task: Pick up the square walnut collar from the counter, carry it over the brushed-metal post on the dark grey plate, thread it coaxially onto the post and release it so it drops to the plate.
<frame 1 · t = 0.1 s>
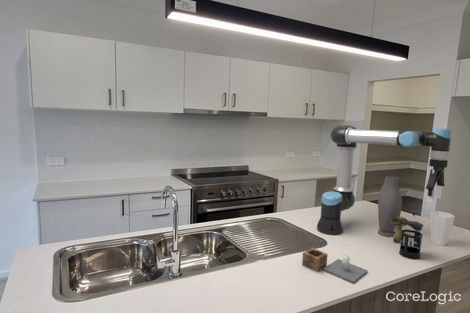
hand: (433, 200, 149), 28 cm above the worktop, fingers open, 13 cm apart
post: (345, 271, 130), on the worktop
mushroom: (397, 242, 164), on the worktop
french press: (409, 255, 149), on the worktop
cup: (438, 243, 165), on the worktop
vase: (386, 233, 177), on the worktop
collar: (314, 265, 135), on the worktop
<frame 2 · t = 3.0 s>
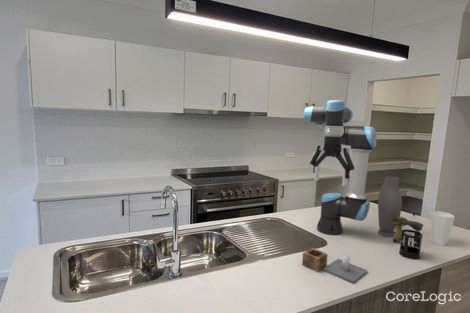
hand: (329, 182, 131), 39 cm above the worktop, fingers open, 13 cm apart
nothing on the worktop moved.
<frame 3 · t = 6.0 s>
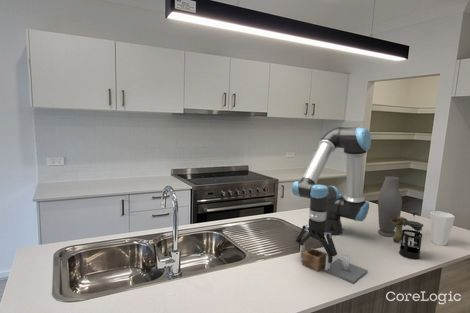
hand: (314, 263, 135), 1 cm above the worktop, fingers open, 13 cm apart
nothing on the worktop moved.
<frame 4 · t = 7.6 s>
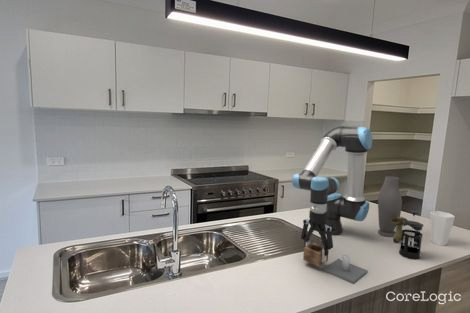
hand: (315, 258, 135), 3 cm above the worktop, fingers closed on collar, 8 cm apart
collar: (315, 260, 135), point 2 cm above the worktop, touching gripper
everything else where it was.
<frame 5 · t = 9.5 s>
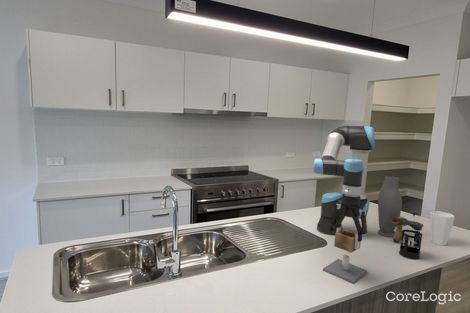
hand: (347, 244, 128), 13 cm above the worktop, fingers closed on collar, 8 cm apart
collar: (346, 247, 129), point 12 cm above the worktop, touching gripper
everything else where it was.
when the fingers open (3 cm above the worktop, at t = 11.3 s): collar drops 1 cm, resting on post.
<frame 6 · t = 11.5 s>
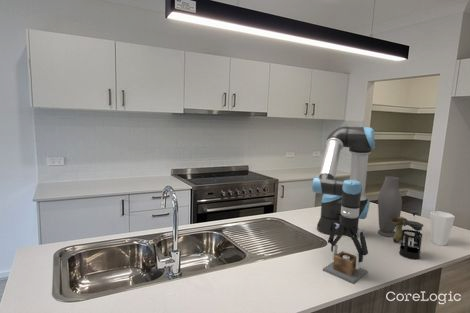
hand: (345, 263, 130), 4 cm above the worktop, fingers open, 10 cm apart
collar: (345, 269, 130), point 1 cm above the worktop, touching post
everything else where it was.
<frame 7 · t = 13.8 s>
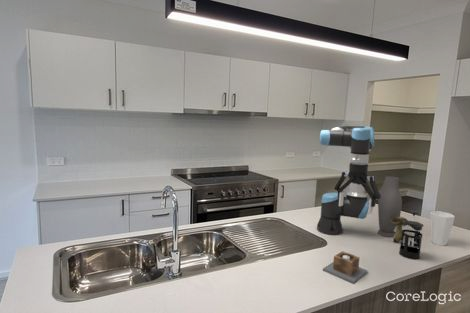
hand: (354, 209, 131), 28 cm above the worktop, fingers open, 13 cm apart
nothing on the worktop moved.
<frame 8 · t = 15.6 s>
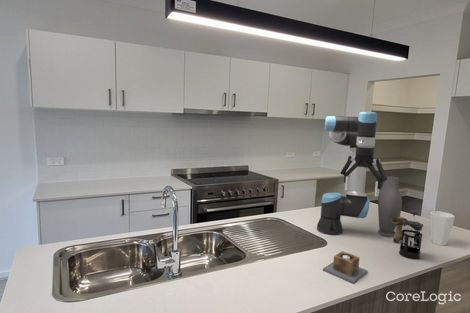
hand: (361, 192, 133), 35 cm above the worktop, fingers open, 13 cm apart
nothing on the worktop moved.
at the end: collar 0.2 cm off-centre on the post, point 1.0 cm above the post's base; collar tilted 0°; the gripper is holding nothing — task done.
